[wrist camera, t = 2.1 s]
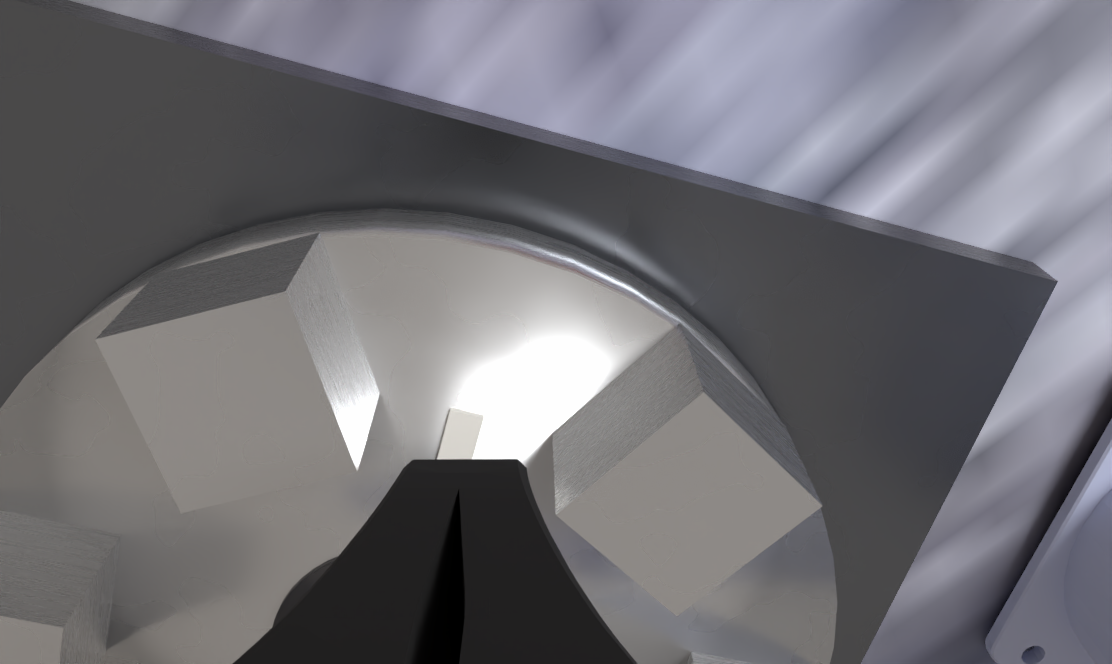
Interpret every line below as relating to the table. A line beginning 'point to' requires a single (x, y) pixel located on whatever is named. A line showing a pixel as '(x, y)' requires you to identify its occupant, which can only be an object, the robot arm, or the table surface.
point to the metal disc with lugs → (394, 443)
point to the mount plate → (525, 201)
